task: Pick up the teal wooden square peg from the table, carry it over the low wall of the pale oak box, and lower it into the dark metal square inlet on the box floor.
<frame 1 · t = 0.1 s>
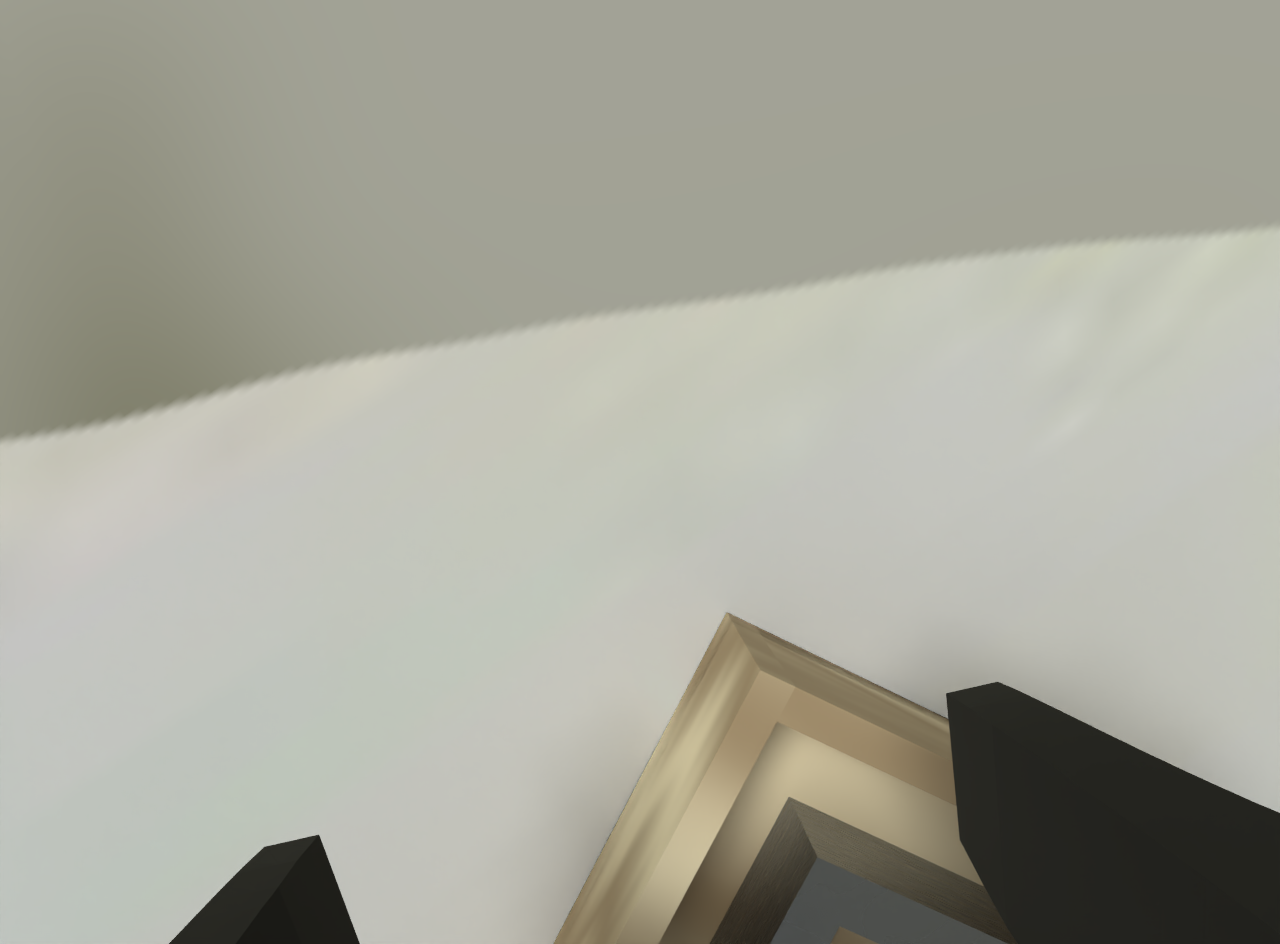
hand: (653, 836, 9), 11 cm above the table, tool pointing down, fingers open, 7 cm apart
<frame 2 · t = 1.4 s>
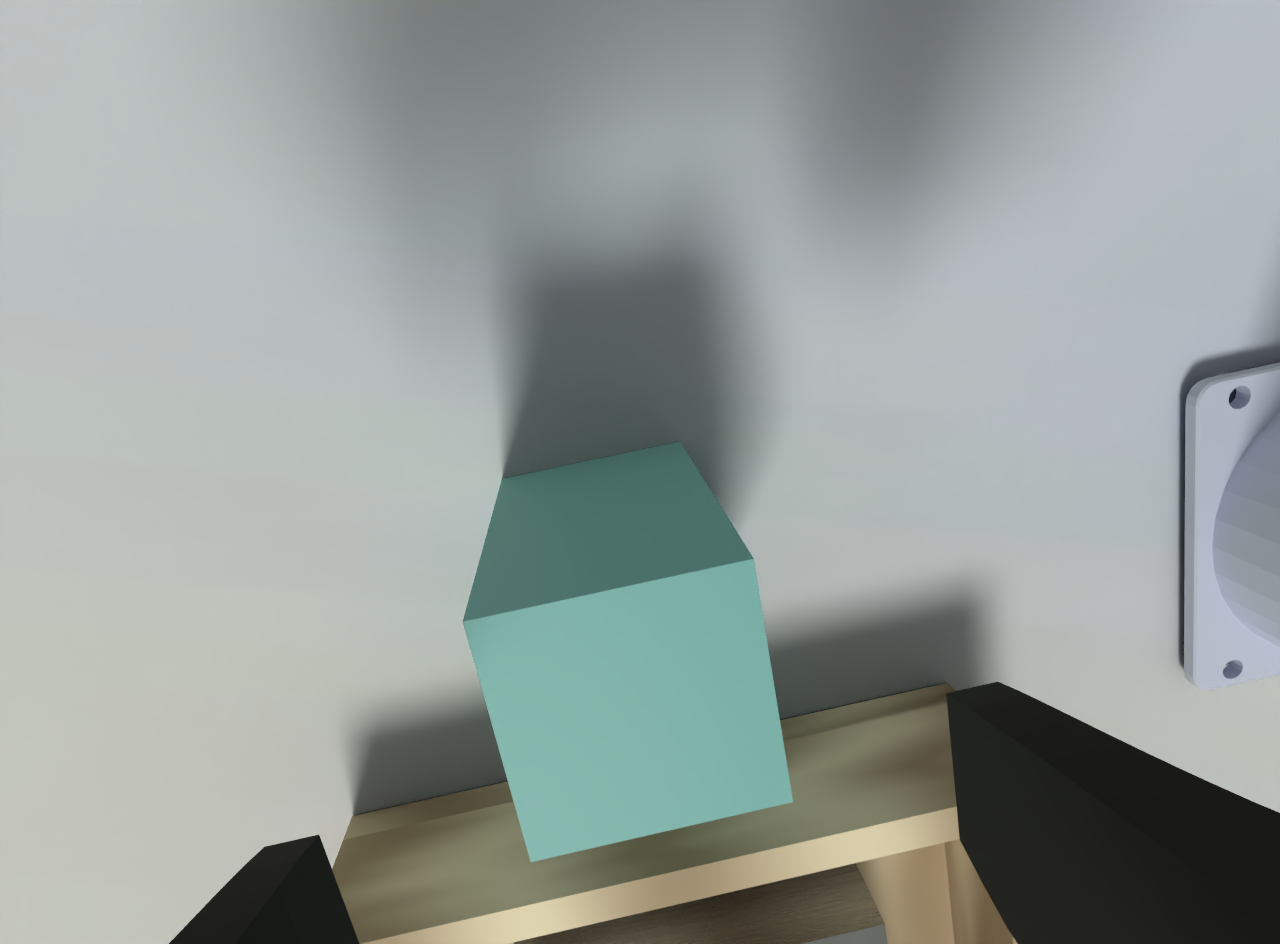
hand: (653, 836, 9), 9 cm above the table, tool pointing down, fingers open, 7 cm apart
teal peg: (609, 543, 18), on the table
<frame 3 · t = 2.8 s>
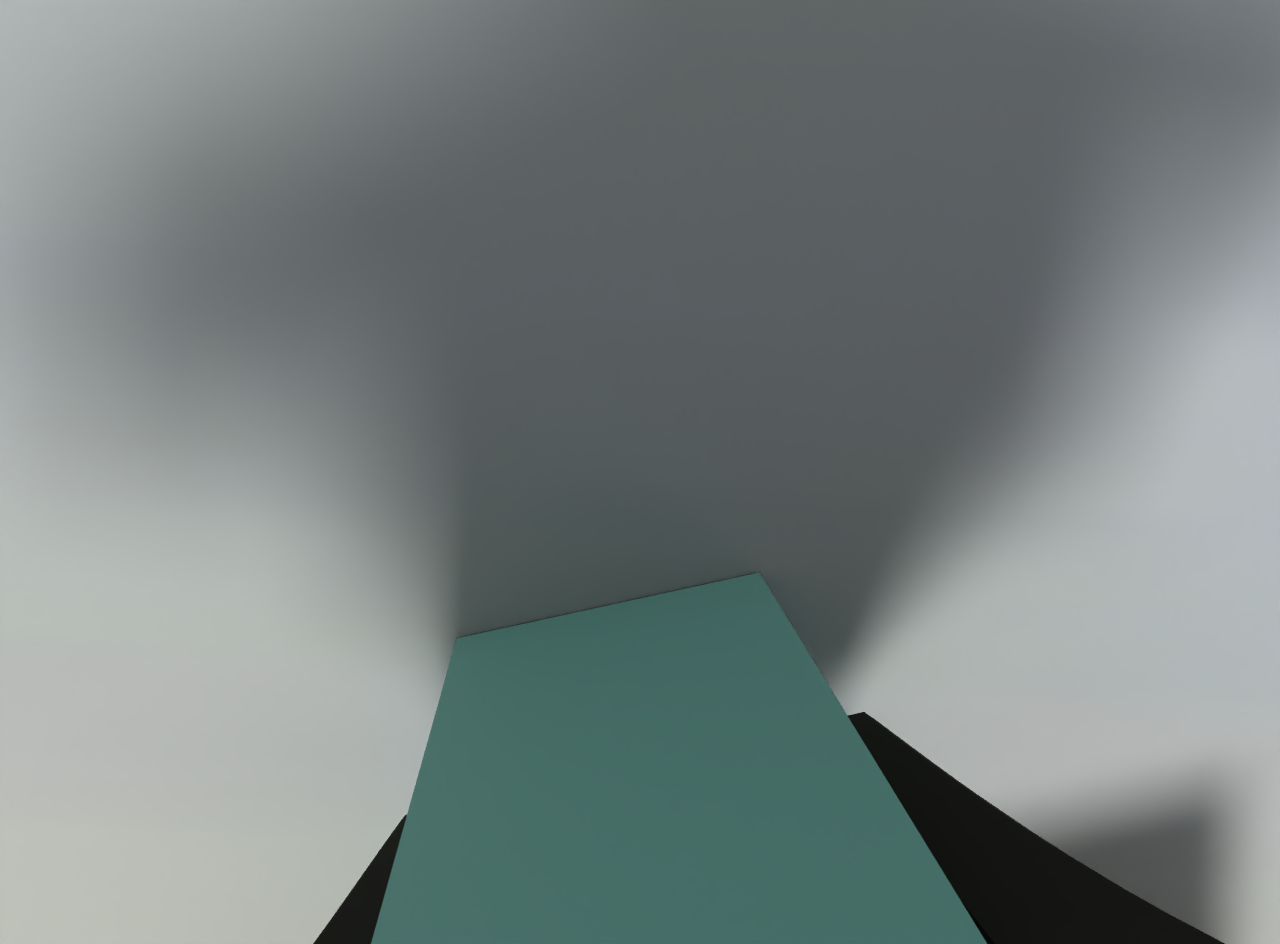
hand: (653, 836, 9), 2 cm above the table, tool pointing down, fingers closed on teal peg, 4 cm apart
teal peg: (638, 736, 11), on the table, touching gripper
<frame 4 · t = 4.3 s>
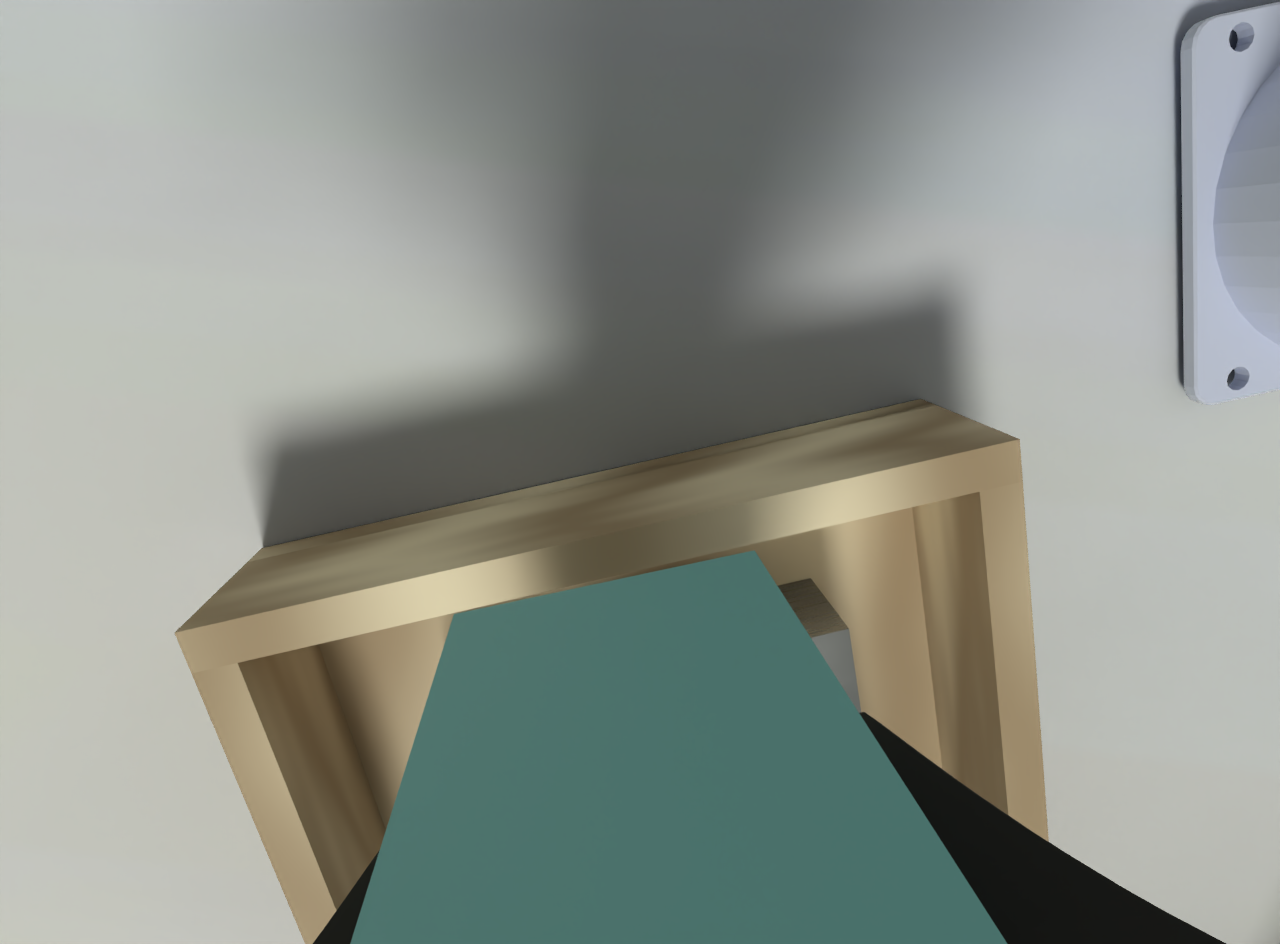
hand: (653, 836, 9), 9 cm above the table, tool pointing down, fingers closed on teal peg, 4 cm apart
oak box: (661, 755, 20), on the table
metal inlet: (665, 775, 19), resting on oak box
teal peg: (634, 713, 11), point 7 cm above the table, touching gripper
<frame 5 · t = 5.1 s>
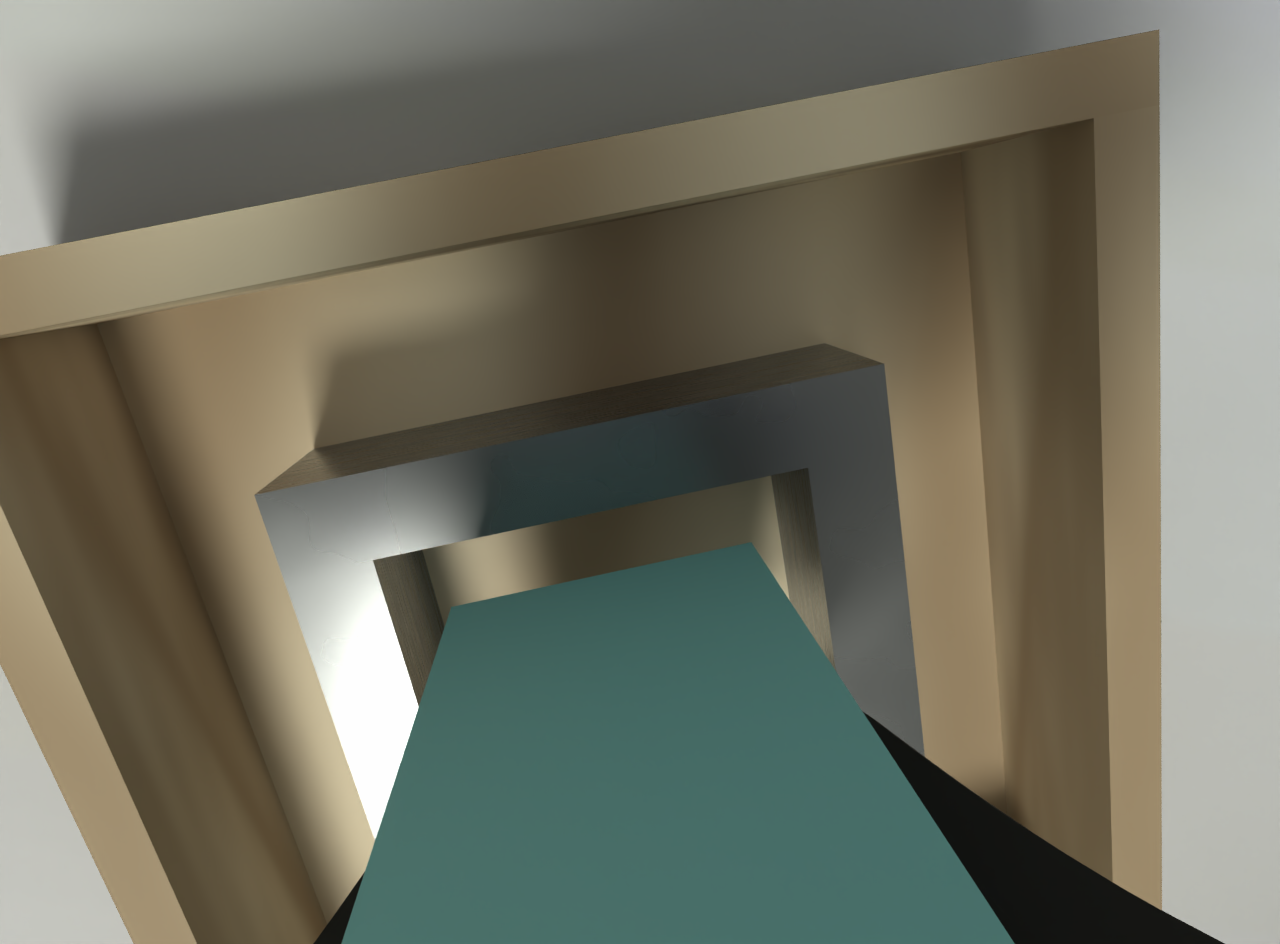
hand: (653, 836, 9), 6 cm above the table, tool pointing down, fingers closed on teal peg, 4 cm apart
oak box: (619, 606, 15), on the table
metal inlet: (622, 626, 14), resting on oak box
teal peg: (631, 706, 11), point 4 cm above the table, touching gripper
when the fingers open (4 cm above the table, at t = 5.9 s): teal peg drops 1 cm, resting on oak box.
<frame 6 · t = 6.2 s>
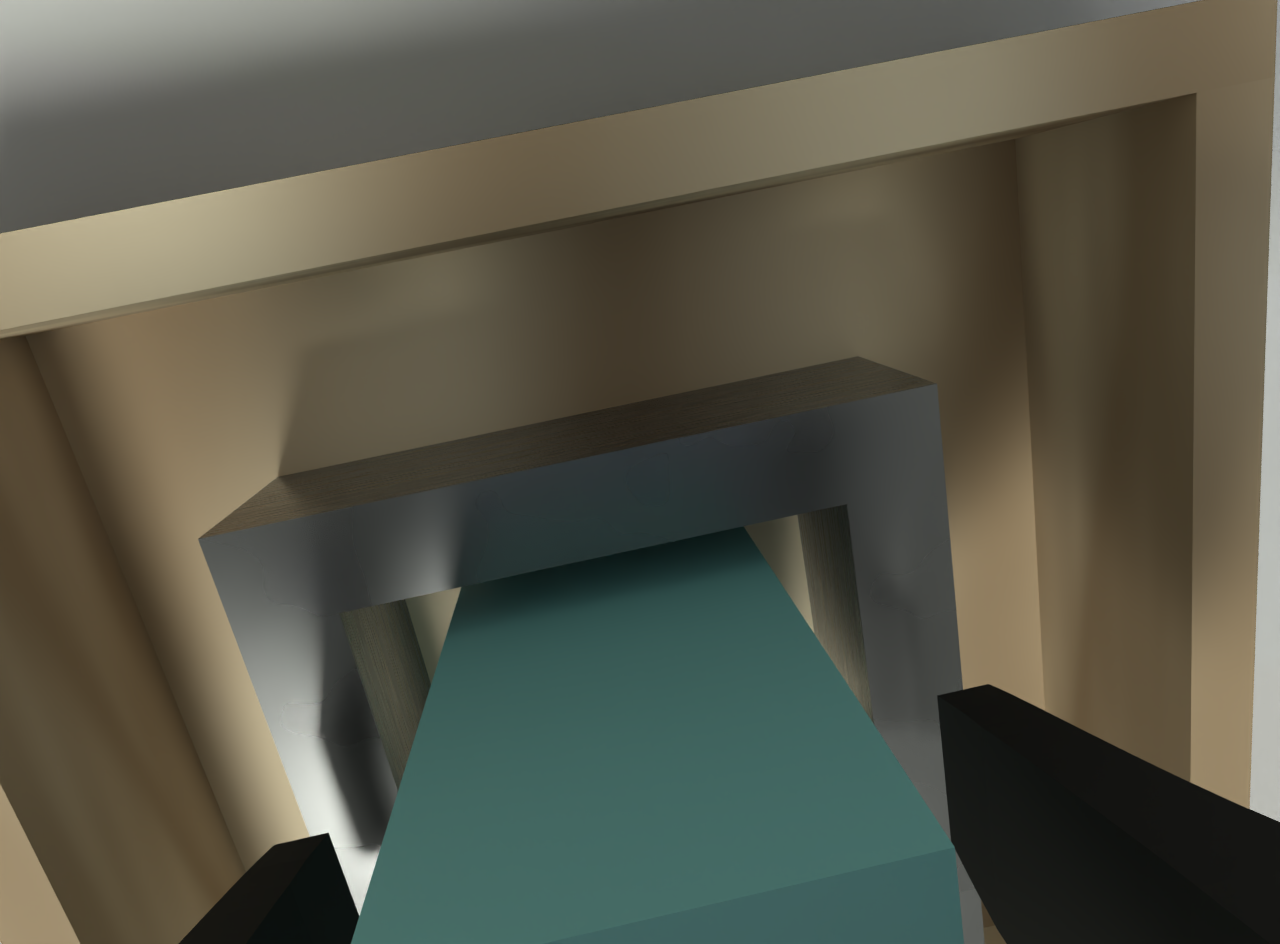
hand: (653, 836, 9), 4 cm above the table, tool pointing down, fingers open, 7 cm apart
oak box: (625, 648, 13), on the table
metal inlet: (628, 672, 12), resting on oak box
teal peg: (626, 654, 12), point 1 cm above the table, touching oak box
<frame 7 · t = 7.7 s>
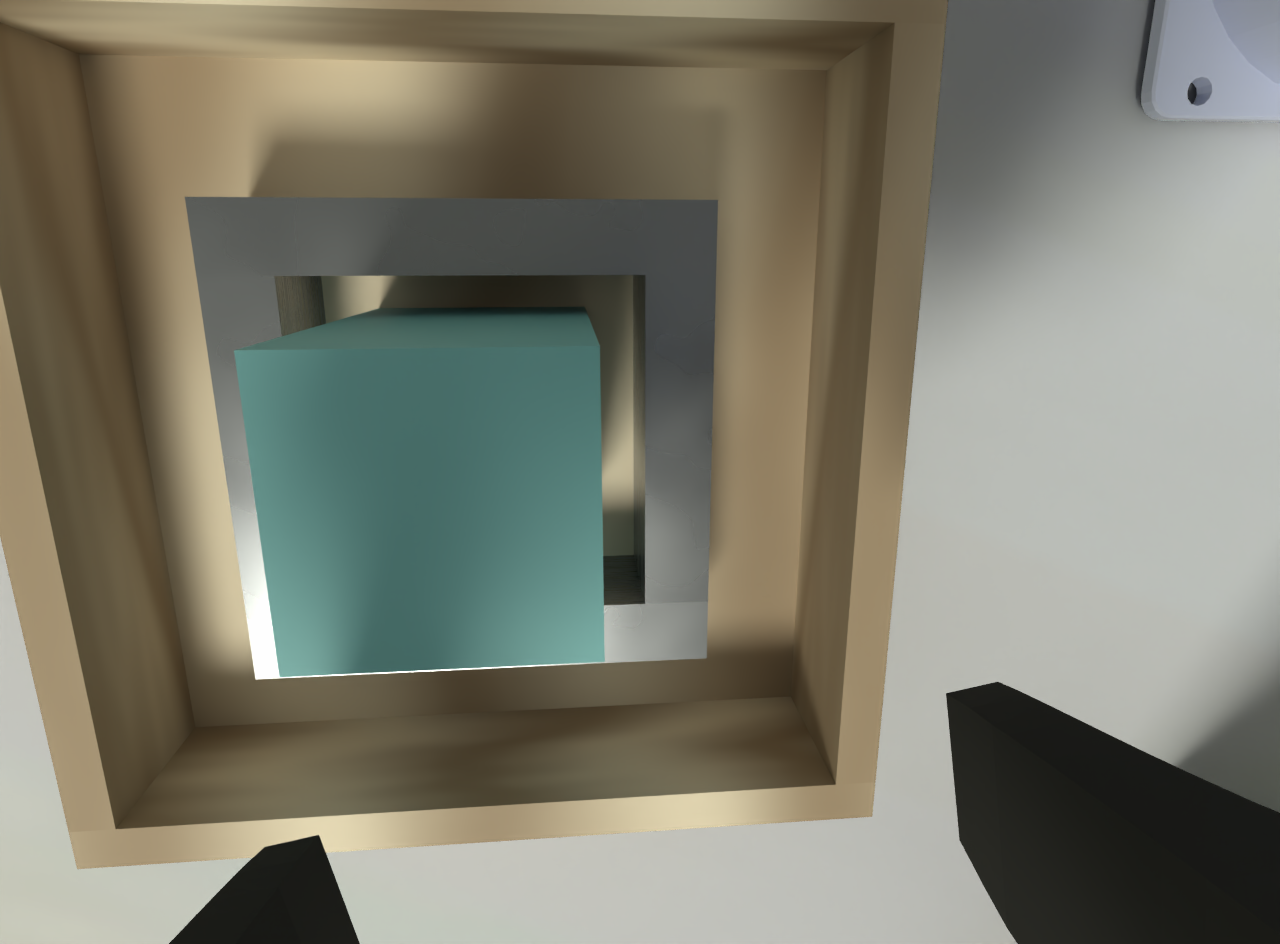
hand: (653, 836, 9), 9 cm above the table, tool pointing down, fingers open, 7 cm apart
oak box: (491, 415, 17), on the table
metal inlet: (487, 423, 16), resting on oak box
teal peg: (488, 407, 16), point 1 cm above the table, touching oak box
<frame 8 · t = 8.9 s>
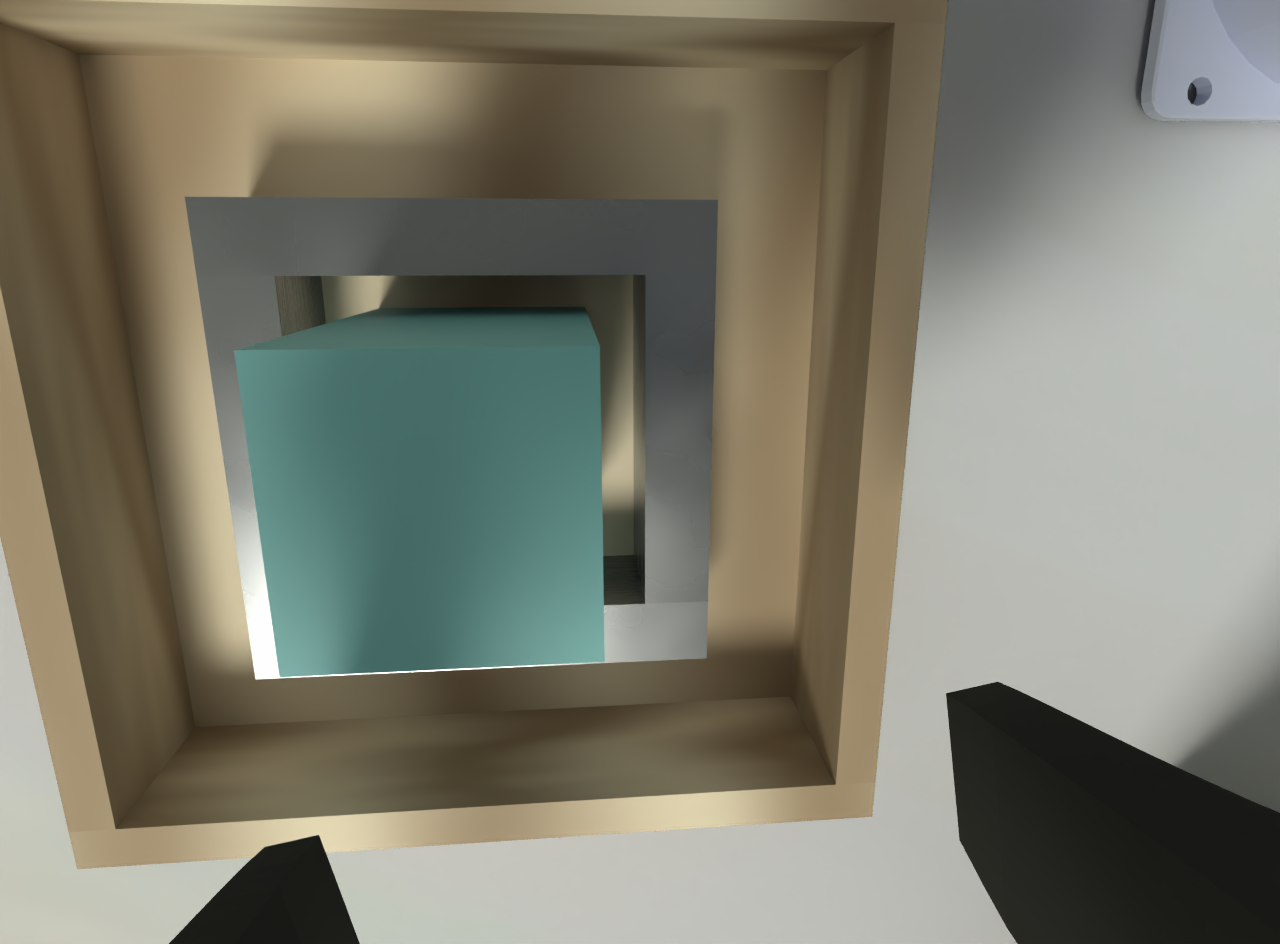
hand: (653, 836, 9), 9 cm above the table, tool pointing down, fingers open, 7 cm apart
oak box: (491, 415, 17), on the table
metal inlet: (487, 423, 16), resting on oak box
teal peg: (488, 407, 16), point 1 cm above the table, touching oak box
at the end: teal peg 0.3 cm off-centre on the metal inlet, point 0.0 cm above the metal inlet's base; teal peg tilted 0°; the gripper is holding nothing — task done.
